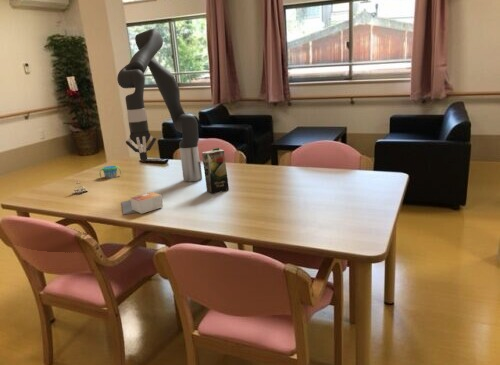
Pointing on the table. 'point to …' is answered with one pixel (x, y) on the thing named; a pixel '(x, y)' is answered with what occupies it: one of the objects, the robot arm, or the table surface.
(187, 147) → the robot arm
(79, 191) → the house of cards
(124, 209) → the mat
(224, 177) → the juice carton
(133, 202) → the small box
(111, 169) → the snack cup
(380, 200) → the table surface
